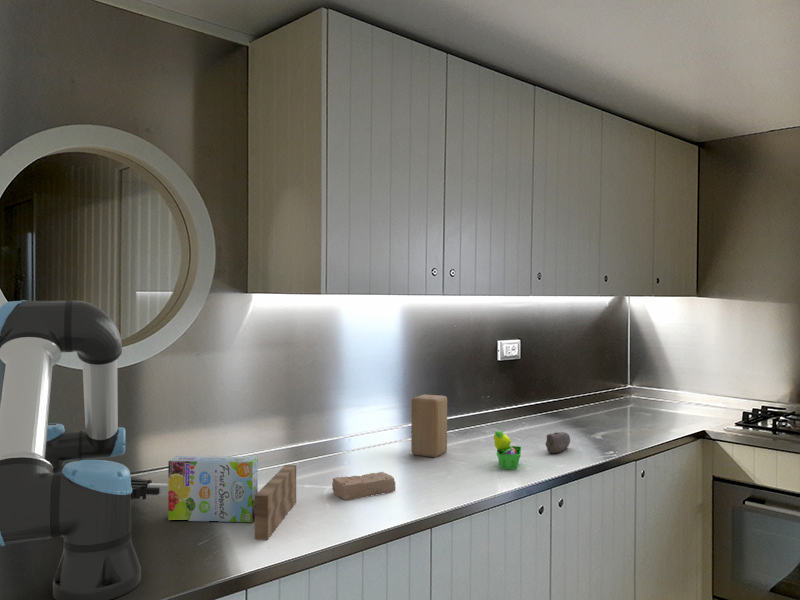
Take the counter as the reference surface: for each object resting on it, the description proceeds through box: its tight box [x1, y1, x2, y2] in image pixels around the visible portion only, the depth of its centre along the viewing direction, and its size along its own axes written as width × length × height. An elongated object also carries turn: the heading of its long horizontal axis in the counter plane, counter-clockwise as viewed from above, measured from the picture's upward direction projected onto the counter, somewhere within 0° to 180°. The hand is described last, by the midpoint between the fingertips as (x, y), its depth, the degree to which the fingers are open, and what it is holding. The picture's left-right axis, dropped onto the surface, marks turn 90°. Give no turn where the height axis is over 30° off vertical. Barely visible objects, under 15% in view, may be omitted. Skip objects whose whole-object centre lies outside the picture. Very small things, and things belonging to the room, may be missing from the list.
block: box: [410, 393, 448, 458], centre depth 222 cm, size 10×10×20 cm
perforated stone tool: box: [545, 431, 571, 454], centre depth 226 cm, size 15×5×7 cm, turn 136°
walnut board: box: [254, 464, 297, 541], centre depth 156 cm, size 26×3×10 cm, turn 175°
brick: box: [331, 471, 397, 501], centre depth 178 cm, size 17×8×5 cm, turn 120°
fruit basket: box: [493, 430, 522, 470], centre depth 207 cm, size 11×9×11 cm
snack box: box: [167, 455, 259, 523], centre depth 156 cm, size 21×6×15 cm, turn 87°
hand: (173, 490), depth 159 cm, fingers closed
